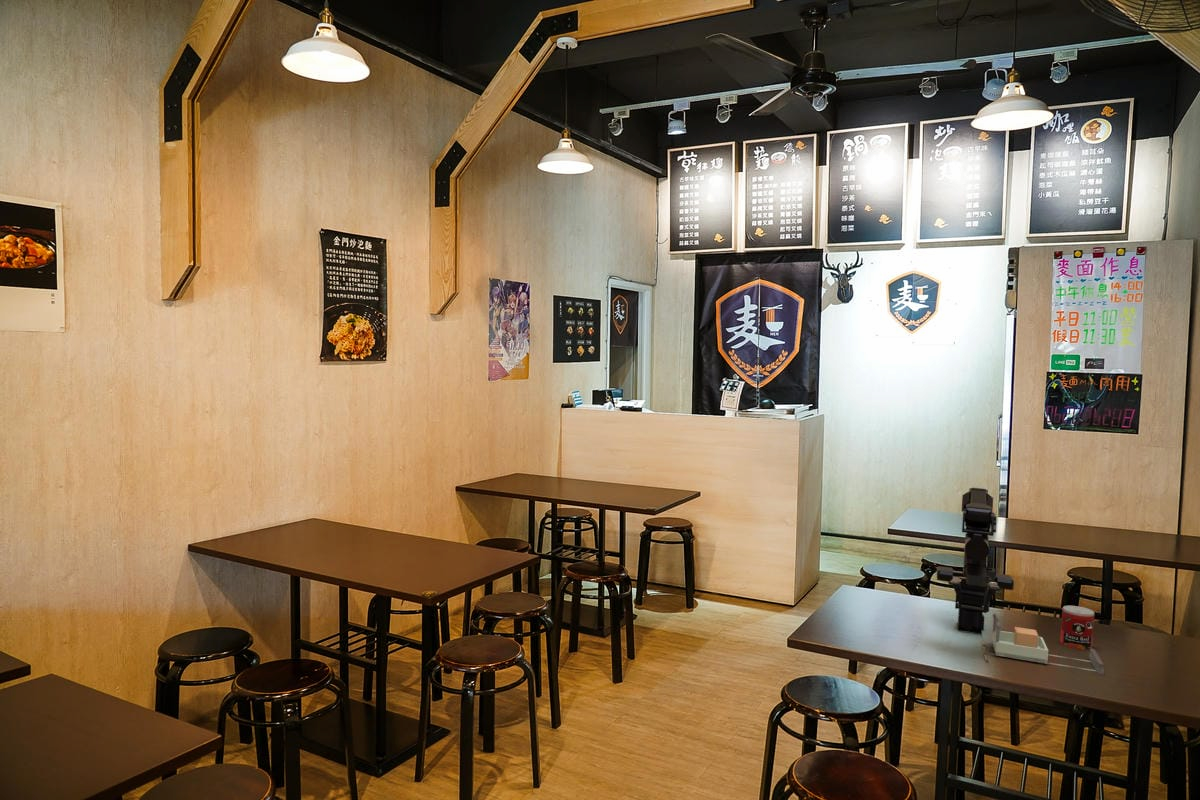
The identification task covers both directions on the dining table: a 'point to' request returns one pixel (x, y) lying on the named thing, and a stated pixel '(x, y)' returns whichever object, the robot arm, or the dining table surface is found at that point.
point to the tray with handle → (1016, 646)
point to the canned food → (1077, 627)
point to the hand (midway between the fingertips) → (972, 608)
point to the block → (1025, 637)
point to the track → (1092, 656)
